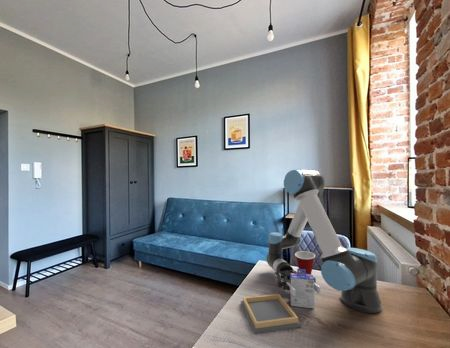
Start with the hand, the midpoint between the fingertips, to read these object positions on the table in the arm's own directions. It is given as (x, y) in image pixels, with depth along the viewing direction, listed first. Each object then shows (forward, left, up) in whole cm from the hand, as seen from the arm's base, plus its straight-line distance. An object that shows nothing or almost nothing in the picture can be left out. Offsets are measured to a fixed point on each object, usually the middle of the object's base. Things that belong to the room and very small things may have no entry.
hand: (307, 291), depth 91 cm
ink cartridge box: (0, -4, -8) cm, 9 cm away
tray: (+17, 0, -8) cm, 19 cm away
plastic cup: (-16, -28, -8) cm, 33 cm away
